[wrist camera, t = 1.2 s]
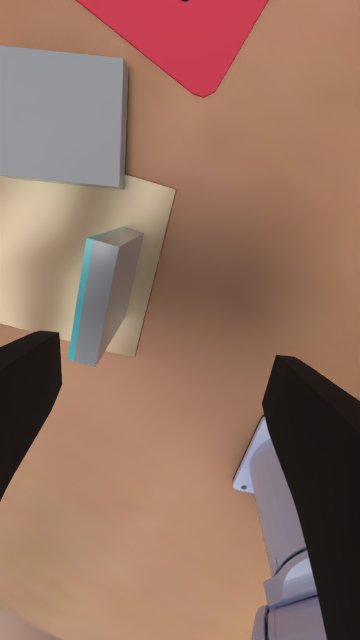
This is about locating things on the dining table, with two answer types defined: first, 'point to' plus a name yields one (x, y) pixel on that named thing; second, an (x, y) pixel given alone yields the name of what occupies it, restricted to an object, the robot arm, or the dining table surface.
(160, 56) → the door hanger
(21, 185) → the beige square board
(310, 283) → the dining table surface
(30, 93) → the tile
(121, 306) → the tile
